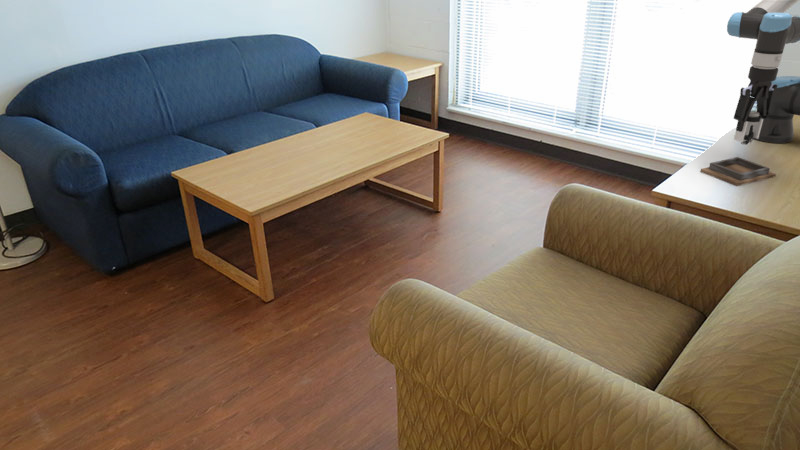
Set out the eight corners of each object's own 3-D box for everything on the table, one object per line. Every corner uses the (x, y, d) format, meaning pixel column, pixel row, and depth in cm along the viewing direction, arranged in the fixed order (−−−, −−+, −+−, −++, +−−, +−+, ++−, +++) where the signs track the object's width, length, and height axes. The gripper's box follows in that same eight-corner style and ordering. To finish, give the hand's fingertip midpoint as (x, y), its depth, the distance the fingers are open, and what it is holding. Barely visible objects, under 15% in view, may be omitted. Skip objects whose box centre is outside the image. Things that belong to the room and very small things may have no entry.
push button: (750, 147, 189) (758, 116, 184) (732, 144, 192) (740, 113, 187) (757, 142, 193) (764, 112, 188) (739, 138, 196) (746, 109, 192)
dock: (737, 163, 206) (739, 154, 205) (775, 176, 195) (777, 167, 193) (700, 171, 200) (702, 163, 198) (736, 186, 188) (739, 177, 187)
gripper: (753, 72, 175) (735, 146, 185) (797, 65, 182) (777, 138, 192) (731, 67, 181) (714, 140, 191) (774, 61, 188) (756, 131, 198)
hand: (746, 138), depth 192 cm, fingers closed on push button, 6 cm apart
